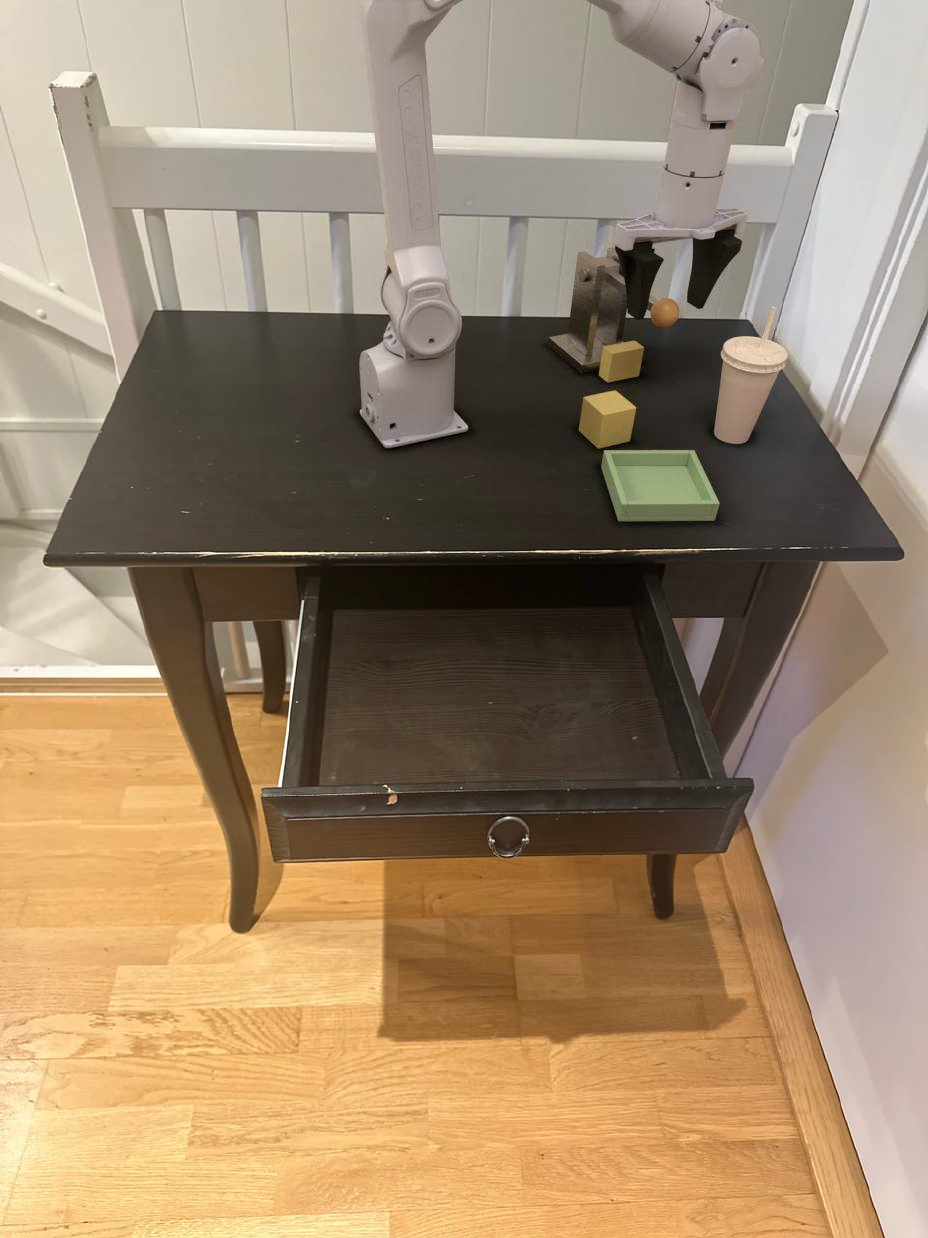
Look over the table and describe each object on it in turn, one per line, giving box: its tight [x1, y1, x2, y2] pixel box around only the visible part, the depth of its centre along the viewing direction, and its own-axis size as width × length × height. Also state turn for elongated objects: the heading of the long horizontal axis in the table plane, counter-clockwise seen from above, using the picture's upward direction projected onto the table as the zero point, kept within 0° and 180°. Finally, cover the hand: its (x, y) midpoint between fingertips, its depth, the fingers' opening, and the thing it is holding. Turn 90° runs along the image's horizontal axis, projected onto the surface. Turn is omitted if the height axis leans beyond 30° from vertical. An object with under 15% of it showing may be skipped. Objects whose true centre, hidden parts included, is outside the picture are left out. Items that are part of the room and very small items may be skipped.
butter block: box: [598, 340, 645, 384], centre depth 98 cm, size 2×4×4 cm, turn 115°
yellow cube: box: [578, 390, 637, 450], centre depth 88 cm, size 4×4×4 cm
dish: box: [600, 449, 721, 522], centre depth 81 cm, size 9×9×2 cm
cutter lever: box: [595, 256, 680, 329], centre depth 92 cm, size 15×3×3 cm, turn 25°
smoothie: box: [713, 305, 789, 445], centre depth 85 cm, size 6×6×14 cm
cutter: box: [547, 246, 627, 375], centre depth 99 cm, size 8×8×12 cm
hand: (665, 310), depth 88 cm, fingers open, 7 cm apart
